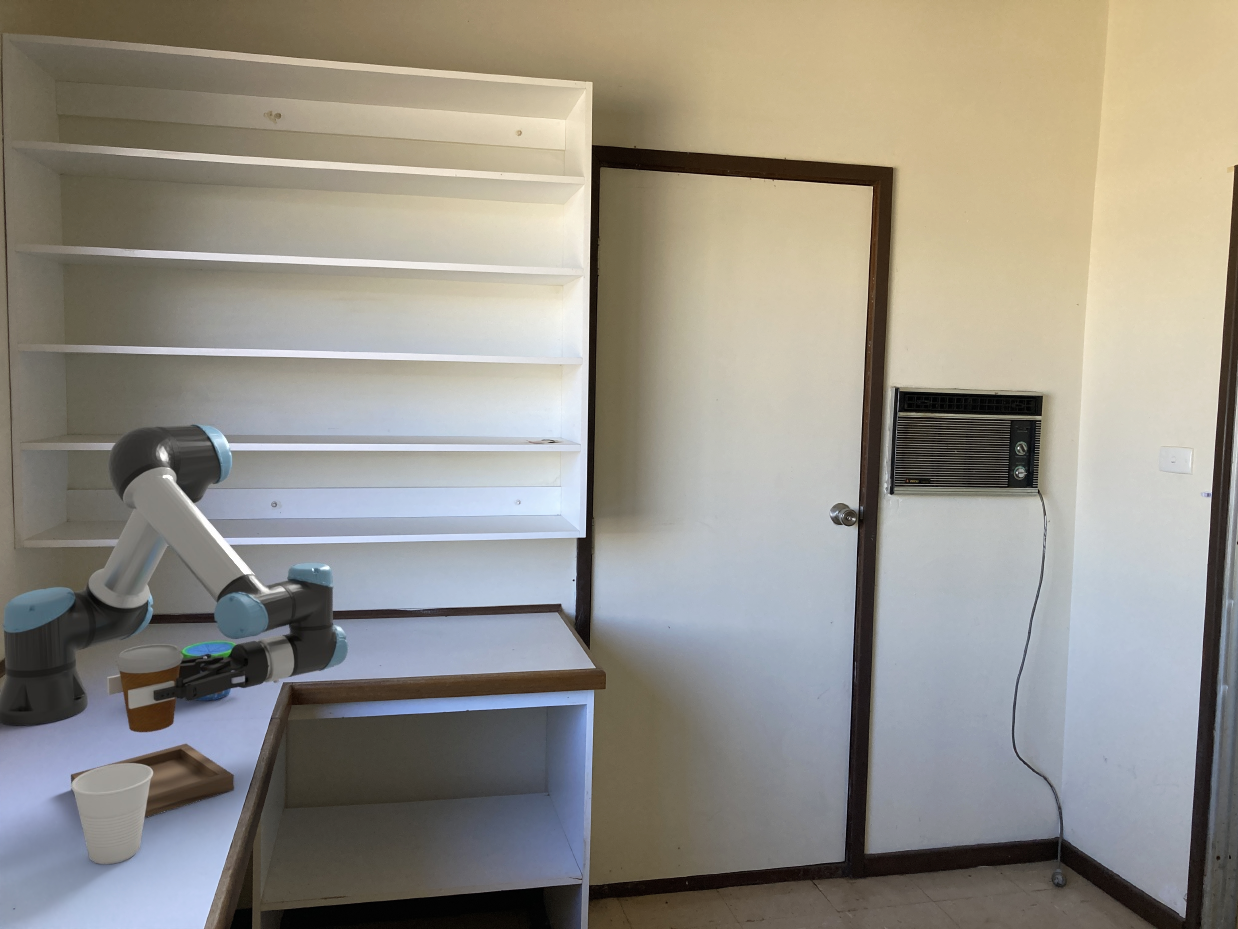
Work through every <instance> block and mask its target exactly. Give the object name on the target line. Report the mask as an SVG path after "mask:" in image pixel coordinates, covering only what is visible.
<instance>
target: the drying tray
mask: <svg viewBox="0 0 1238 929" xmlns="http://www.w3.org/2000/svg"><path fill="white" fill-rule="evenodd" d="M121 763H137V764H143V765H146V766H149V767H150V768H151V769H152V770H153V776H152V777H151V780H150V786H149V792H148V798H147V804H146V810H145V817H147V818H149V817H148V816H150V817H152V815H153V816H155V815H154V814H156V815H159V814H161V812H162V813H165V812H164V811H166V812H168V811H167V810H169V811H171V810H175V809H179V808H181V807H184V805H185V806H187V804H188V805H191V804H193V802H194V803H197V802H200V801H203V800H202V799H204V800H206V798H207V799H209V798H212V797H215V796H218V795H219V796H220V795H222V794H225V793H229V792H231V791H234V790H235V780H234V779H235V778H234V777H235V775H234V774H233V773H232V772H230V771H228V770H227V769H226V768H224V767H223V766H221V765H219V764H218V763H217V762H215V761H213V760H212V759H210V758H209V757H207V756H205V755H204V754H203V753H202V752H200V751H198V750H196V749H195V748H194V747H192V746H191V745H189V744H188V743H182V744H179V745H175V746H171V747H168V748H164V749H161V750H158V751H157V750H156V751H153V752H150V753H145V754H141V755H138V756H134V757H131V758H127V759H124V760H120V761H116V762H112V763H108V764H105V765H101V766H97V767H93V768H90V769H86V770H83V771H78V772H75V773H71V774H70V781H71V782H70V785H71V784H72V782H73V781H74V779H75V778H77V777H78V776H80V775H81V774H83V773H85V772H88V771H90V770H93V769H96V768H99V767H103V766H107V765H113V764H121ZM70 789H71V788H70ZM71 791H72V792H73V793H74V791H73V790H72V789H71ZM199 800H200V801H199ZM196 801H197V802H196ZM190 803H191V804H190ZM158 813H159V814H158ZM145 817H144V819H146V818H145Z"/></svg>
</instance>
